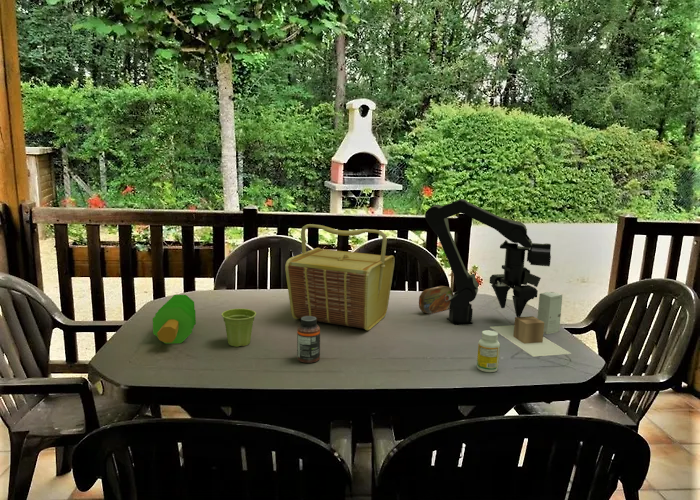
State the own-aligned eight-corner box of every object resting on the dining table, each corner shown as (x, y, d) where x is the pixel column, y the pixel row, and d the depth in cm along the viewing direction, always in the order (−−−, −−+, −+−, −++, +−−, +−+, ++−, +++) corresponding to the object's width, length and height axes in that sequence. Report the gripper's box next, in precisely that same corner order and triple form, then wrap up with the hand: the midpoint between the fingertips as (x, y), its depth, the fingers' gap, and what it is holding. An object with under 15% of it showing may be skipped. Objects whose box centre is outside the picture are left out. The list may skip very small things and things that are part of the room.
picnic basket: (281, 323, 173) (281, 228, 167) (316, 302, 197) (318, 218, 191) (369, 338, 162) (372, 236, 157) (395, 314, 186) (399, 225, 180)
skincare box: (547, 335, 169) (551, 296, 166) (535, 331, 172) (538, 293, 170) (559, 332, 172) (563, 294, 170) (547, 327, 176) (551, 290, 173)
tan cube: (513, 336, 166) (524, 343, 160) (514, 317, 165) (525, 323, 159) (531, 335, 167) (542, 342, 162) (532, 316, 166) (544, 322, 161)
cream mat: (533, 357, 151) (533, 356, 151) (488, 327, 174) (489, 326, 174) (571, 354, 153) (571, 353, 153) (523, 325, 177) (523, 324, 177)
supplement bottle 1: (305, 353, 149) (306, 313, 147) (324, 358, 146) (325, 317, 144) (292, 360, 144) (292, 318, 142) (311, 365, 141) (312, 323, 139)
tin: (423, 316, 185) (424, 291, 183) (416, 313, 187) (417, 289, 185) (453, 308, 194) (454, 285, 192) (446, 306, 196) (447, 283, 195)
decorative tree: (155, 308, 144) (174, 276, 173) (139, 346, 146) (161, 308, 175) (197, 323, 147) (208, 289, 176) (181, 361, 149) (195, 321, 178)
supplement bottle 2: (492, 374, 139) (495, 338, 137) (472, 368, 142) (475, 332, 140) (501, 368, 143) (504, 332, 141) (482, 362, 146) (485, 327, 144)
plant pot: (262, 340, 158) (262, 310, 157) (245, 351, 149) (245, 320, 148) (233, 335, 161) (233, 306, 160) (215, 346, 152) (214, 316, 151)
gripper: (555, 269, 163) (550, 320, 166) (521, 256, 181) (517, 302, 184) (522, 270, 161) (517, 322, 164) (490, 257, 178) (486, 304, 181)
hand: (510, 312), depth 173 cm, fingers open, 9 cm apart
